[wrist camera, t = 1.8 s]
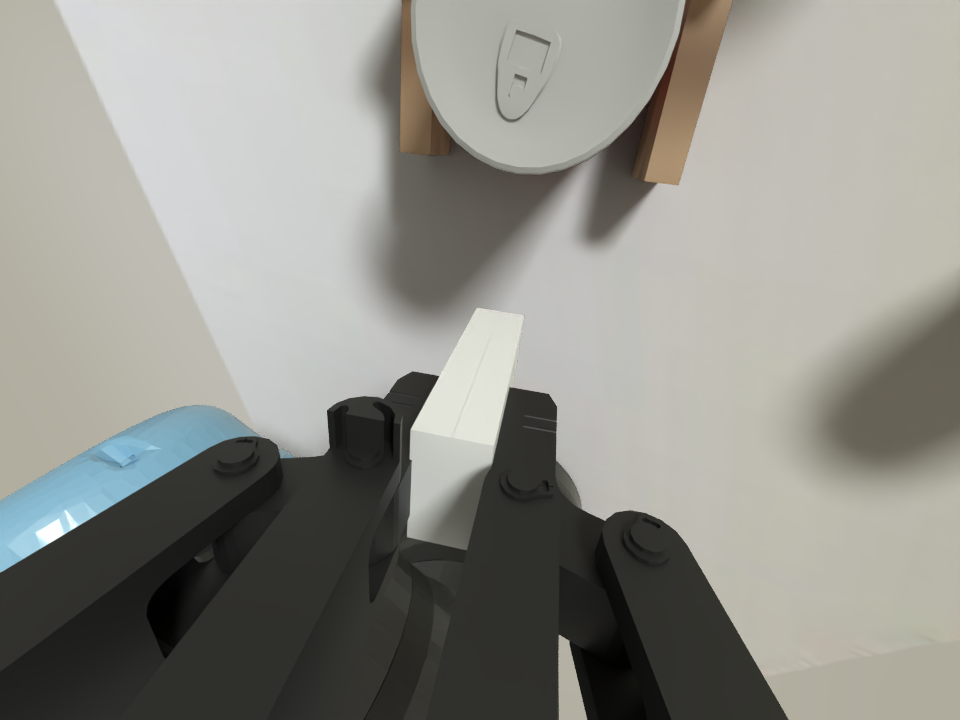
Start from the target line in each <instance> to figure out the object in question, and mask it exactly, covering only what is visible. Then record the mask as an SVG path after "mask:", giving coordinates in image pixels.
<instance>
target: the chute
mask: <svg viewBox="0 0 960 720" xmlns="http://www.w3.org/2000/svg"><path fill="white" fill-rule="evenodd" d="M732 1H733V0H686V1H685V6H684V11H683V16H682V21H681V26H680V31H679V35H678V38H677V41H676V43H675V46H674V49H673V52H672V55H671V57H670V60H669V63H668V66H667V68H666V70H665V72H664V74H663V76H662V77H661V79H660V81H659V83H658V85H657V87H656V89H655V91H654V92H653V94H652V96H651V98H650V102H649V106H648V111H647V115H646V119H645V123H644V127H643V131H642V135H641V139H640V143H639V147H638V152H637V156H636V160H635V164H634V168H633V172H632V176H631V177H634V178H637V179H640V180H642V181H647V182H655V183H664V184H672V185H679V182H680V179H681V175H682V172H683V168H684V165H685V161H686V158H687V155H688V151H689V148H690V144H691V141H692V138H693V134H694V131H695V127H696V124H697V120H698V117H699V114H700V110H701V107H702V103H703V100H704V97H705V93H706V90H707V86H708V83H709V80H710V76H711V73H712V69H713V66H714V62H715V59H716V56H717V52H718V49H719V45H720V42H721V39H722V35H723V32H724V28H725V25H726V21H727V18H728V15H729V11H730V8H731V4H732ZM411 3H412V0H402V30H401V97H400V152H406V153H414V154H422V155H450V139H451V136H450V134H449V133H448V132H447V131H446V130H445V128H444V127H443V126H442V125H441V124H440V122H439V120H438V118H437V117H436V115H435V113H434V111H433V109H432V108H431V106H430V104H429V102H428V100H427V98H426V95H425V93H424V90H423V87H422V84H421V81H420V78H419V75H418V73H417V68H416V62H415V57H414V51H413V46H412V32H411Z"/></svg>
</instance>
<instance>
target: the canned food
mask: <svg viewBox="0 0 960 720" xmlns="http://www.w3.org/2000/svg"><path fill="white" fill-rule="evenodd" d="M685 1H686V0H412V3H411V32H412V46H413V51H414V57H415V62H416V68H417V73H418V75H419V78H420V81H421V84H422V87H423V90H424V93H425V95H426V98H427V100H428V102H429V104H430V106H431V108H432V109H433V111H434V113H435V115H436V117H437V118H438V120H439V122H440V124H441V125H442V126H443V127H444V128H445V130H446V131H447V132H448V133H449V134H450V136H451V137H452V138H453V139H454V140H455V142H456V143H457V144H459V145H460V146H461V147H462V148H464V149H465V150H466V151H467V152H469V153H470V154H471V155H472V156H474V157H475V158H476V159H478V160H480V161H482V162H484V163H486V164H488V165H490V166H492V167H494V168H496V169H499V170H503V171H507V172H511V173H515V174H525V175H542V174H547V173H552V172H557V171H562V170H566V169H568V168H570V167H573V166H575V165H577V164H580V163H582V162H584V161H587V160H588V159H590V158H591V157H593V156H594V155H596V154H597V153H599V152H600V151H602V150H603V149H605V148H606V147H608V146H609V145H610V144H611V143H613V142H614V141H615V140H616V139H617V138H618V137H619V136H620V135H621V134H622V133H623V132H624V131H625V130H626V129H627V128H628V127H629V126H630V125H631V124H632V123H633V121H634V120H635V119H636V117H637V116H638V115H639V113H640V112H641V111H642V109H643V108H644V107H645V105H646V104H647V103H648V101H649V100H650V98H651V96H652V94H653V92H654V91H655V89H656V87H657V85H658V83H659V81H660V79H661V77H662V76H663V74H664V72H665V70H666V68H667V66H668V63H669V60H670V57H671V55H672V52H673V49H674V46H675V43H676V41H677V38H678V35H679V31H680V26H681V21H682V16H683V11H684V6H685Z"/></svg>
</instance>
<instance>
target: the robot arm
mask: <svg viewBox="0 0 960 720" xmlns="http://www.w3.org/2000/svg"><path fill="white" fill-rule="evenodd" d="M523 321H524V315H520V314H513V313H507V312H501V311H494V310H488V309H482V308H477V309H476V310H475V312H474V314H473V316H472V318H471V320H470V321H469V323H468V325H467V327H466V329H465V331H464V332H463V334H462V336H461V338H460V340H459V342H458V343H457V345H456V347H455V349H454V351H453V353H452V354H451V356H450V358H449V360H448V362H447V364H446V365H445V367H444V369H443V371H442V373H441V375H440V376H436V375H430V374H424V373H419V372H413V371H412V372H411V373H409V374H407V375H405V376H403V377H402V378H400V379H398V380H397V382H396V383H395V384H394V386H393V387H392V389H391V390H390V393H388V394H387V396H386V397H385V398H384V399H382V398H379V397H366V396H363V397H356V398H349V399H346V400H344V401H341V402H338V403H336V404H335V405H333V406H332V407H331V408H329V409H328V410H327V416H328V430H329V443H330V449H329V450H328V451H327V452H326V454H325V455H324V456H317V457H304V458H294V456H293V455H292V454H290V453H289V452H288V451H287V450H278V447H277V445H276V444H275V443H273V442H272V441H270V440H269V439H266V438H262V437H261V436H260V435H258V434H257V433H256V432H254V431H253V430H252V429H250V428H249V427H248V426H247V425H245V424H244V423H243V422H241V421H240V420H239V419H237V418H236V417H235V416H233V415H232V414H231V413H229V412H227V411H225V410H223V409H220V408H217V407H213V406H207V405H193V406H184V407H180V408H176V409H173V410H170V411H167V412H164V413H161V414H159V415H156V416H154V417H152V418H149V419H147V420H145V421H143V422H141V423H139V424H137V425H135V426H132V427H130V428H128V429H126V430H125V431H122V432H120V433H118V434H116V435H115V436H113V437H111V438H109V439H107V440H105V441H103V442H101V443H99V444H98V445H96V446H94V447H92V448H90V449H88V450H87V451H85V452H83V453H81V454H80V455H78V456H76V457H74V458H72V459H71V460H69V461H67V462H66V463H64V464H62V465H60V466H59V467H57V468H55V469H53V470H52V471H50V472H48V473H46V474H45V475H43V476H41V477H39V478H38V479H36V480H34V481H33V482H31V483H29V484H28V485H26V486H24V487H22V488H21V489H19V490H17V491H16V492H14V493H12V494H11V495H9V496H7V497H6V498H4V499H3V500H1V501H0V720H559V710H558V709H559V702H558V700H559V699H558V697H559V696H558V636H559V635H561V636H563V637H564V638H566V639H568V640H569V641H570V648H571V652H572V656H573V661H574V665H575V669H576V673H577V678H578V682H579V686H580V690H581V694H582V699H583V703H584V707H585V711H586V715H587V720H788V718H787V717H786V714H785V713H784V711H783V709H782V708H781V706H780V704H779V702H778V701H777V699H776V697H775V696H774V694H773V692H772V690H771V689H770V687H769V685H768V684H767V682H766V680H765V678H764V677H763V675H762V673H761V671H760V670H759V668H758V666H757V665H756V663H755V661H754V659H753V658H752V656H751V654H750V653H749V651H748V649H747V647H746V646H745V644H744V642H743V641H742V639H741V637H740V635H739V634H738V632H737V630H736V628H735V627H734V625H733V623H732V622H731V620H730V618H729V616H728V615H727V613H726V611H725V610H724V608H723V606H722V604H721V603H720V601H719V599H718V598H717V596H716V594H715V592H714V591H713V589H712V587H711V586H710V584H709V582H708V580H707V579H706V577H705V575H704V574H703V572H702V570H701V568H700V567H699V565H698V563H697V561H696V560H695V558H694V556H693V555H692V553H691V551H690V549H689V548H688V546H687V544H686V543H685V542H684V541H683V539H682V538H681V537H680V536H679V534H678V533H677V532H676V531H675V530H674V529H672V528H671V527H670V526H668V525H667V524H666V523H664V522H663V521H662V520H660V519H657V518H655V517H653V516H651V515H648V514H646V513H641V512H636V511H623V512H616V513H615V514H613V515H612V516H610V517H609V518H607V519H606V521H604V520H602V519H600V518H598V517H596V516H593V515H591V514H589V513H587V512H585V511H583V510H582V507H581V500H580V497H579V493H578V491H577V488H576V486H575V484H574V482H573V481H572V479H571V478H570V476H569V475H568V473H567V472H566V471H565V470H564V468H563V467H562V466H561V465H560V464H559V463H558V462H557V461H556V426H557V422H556V421H557V406H556V405H555V403H554V401H553V400H552V398H551V397H550V395H549V394H545V393H539V392H534V391H528V390H523V389H517V388H513V384H514V377H515V371H516V365H517V359H518V352H519V346H520V340H521V334H522V327H523Z"/></svg>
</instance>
